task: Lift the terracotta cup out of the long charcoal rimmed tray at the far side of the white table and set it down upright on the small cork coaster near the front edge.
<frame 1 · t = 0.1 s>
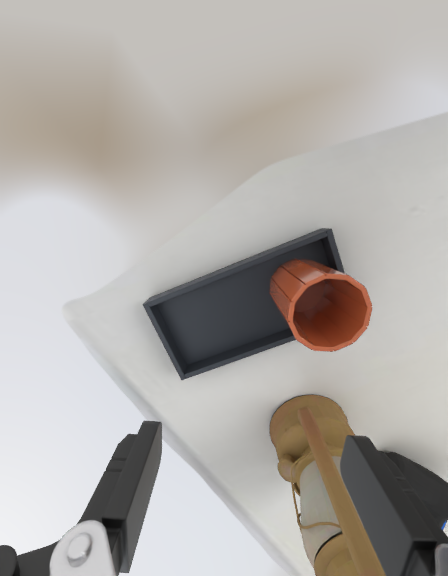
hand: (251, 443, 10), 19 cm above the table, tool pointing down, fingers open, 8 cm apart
cup: (297, 286, 28), point 1 cm above the table, touching tray
lantern: (306, 425, 33), on the table
gaming controller: (389, 492, 36), on the table
tray: (248, 303, 29), on the table
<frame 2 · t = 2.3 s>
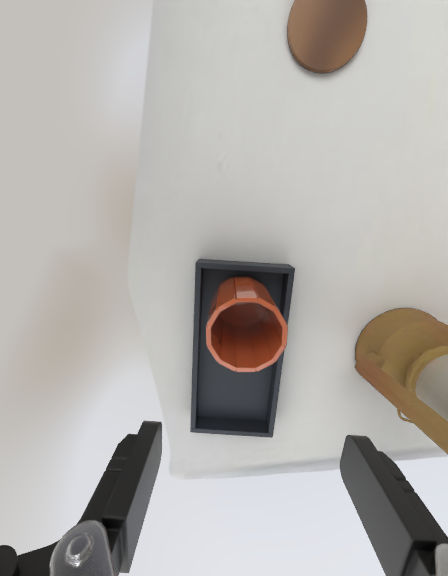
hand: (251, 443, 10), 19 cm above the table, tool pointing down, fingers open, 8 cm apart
cup: (240, 302, 28), point 1 cm above the table, touching tray
lantern: (395, 347, 30), on the table
coaster: (325, 27, 22), on the table
tray: (237, 347, 30), on the table
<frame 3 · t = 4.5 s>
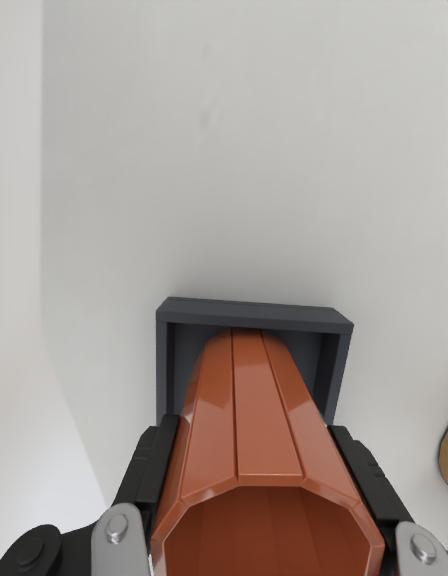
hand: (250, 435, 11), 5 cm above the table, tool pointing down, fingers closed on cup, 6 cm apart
cup: (244, 373, 15), point 1 cm above the table, touching gripper, tray
tray: (236, 441, 18), on the table
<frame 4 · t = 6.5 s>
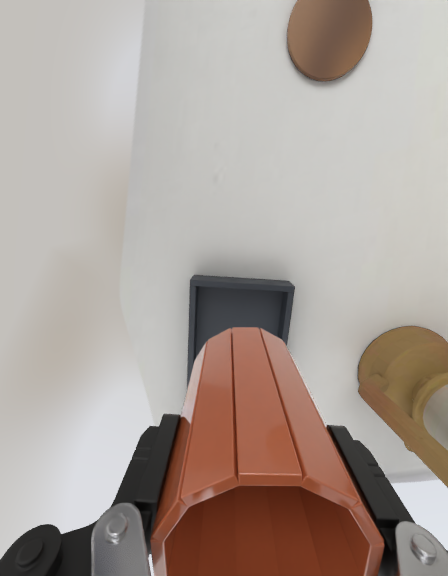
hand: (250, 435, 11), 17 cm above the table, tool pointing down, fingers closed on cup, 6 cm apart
cup: (244, 373, 15), point 12 cm above the table, touching gripper
lantern: (400, 366, 28), on the table
coaster: (328, 33, 21), on the table
tray: (234, 365, 29), on the table
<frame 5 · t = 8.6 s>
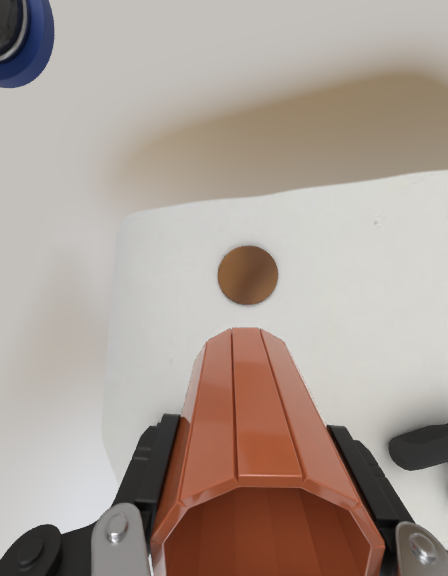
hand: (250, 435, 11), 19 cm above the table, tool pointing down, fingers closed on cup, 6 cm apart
cup: (244, 373, 15), point 15 cm above the table, touching gripper
gaming controller: (442, 449, 34), on the table
coaster: (247, 275, 29), on the table
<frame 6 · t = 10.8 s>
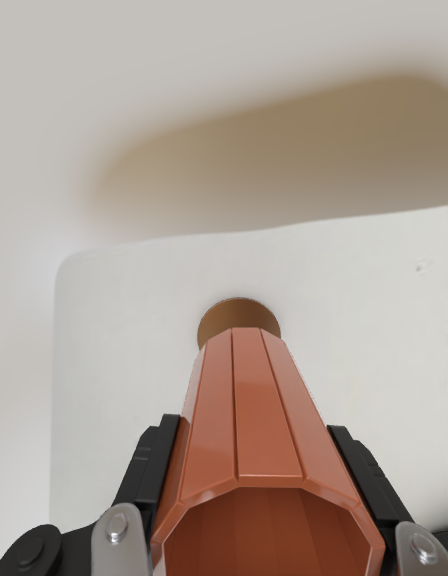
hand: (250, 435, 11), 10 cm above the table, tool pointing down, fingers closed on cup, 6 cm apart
cup: (244, 373, 15), point 5 cm above the table, touching gripper
coaster: (238, 336, 21), on the table
when the fingers open (5 cm above the table, at t = 12.7 s): cup stays where it is, resting on coaster.
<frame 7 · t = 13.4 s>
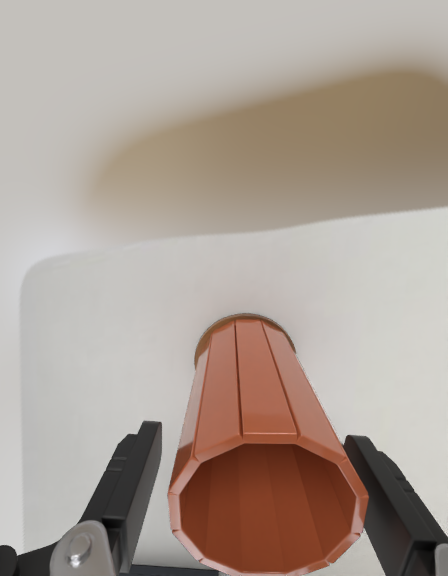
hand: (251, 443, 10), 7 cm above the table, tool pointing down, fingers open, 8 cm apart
cup: (246, 363, 17), resting on coaster
coaster: (244, 360, 17), on the table
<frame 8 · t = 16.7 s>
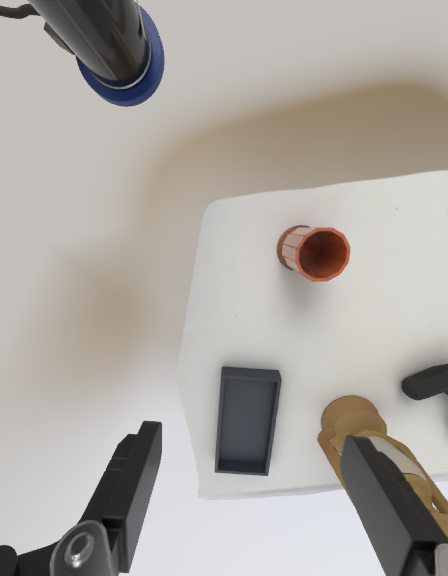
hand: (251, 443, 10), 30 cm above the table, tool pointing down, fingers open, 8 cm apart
cup: (300, 248, 38), resting on coaster
lantern: (347, 418, 46), on the table
gaming controller: (443, 388, 44), on the table
coaster: (299, 248, 38), on the table
tray: (245, 417, 46), on the table
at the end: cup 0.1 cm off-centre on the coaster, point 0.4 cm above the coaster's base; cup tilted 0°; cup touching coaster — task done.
